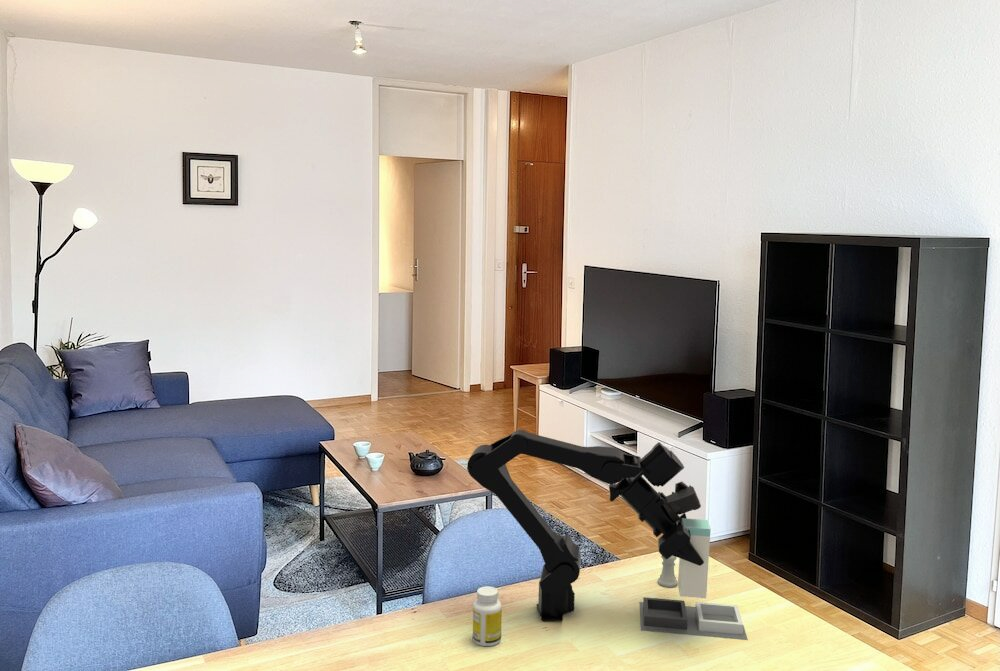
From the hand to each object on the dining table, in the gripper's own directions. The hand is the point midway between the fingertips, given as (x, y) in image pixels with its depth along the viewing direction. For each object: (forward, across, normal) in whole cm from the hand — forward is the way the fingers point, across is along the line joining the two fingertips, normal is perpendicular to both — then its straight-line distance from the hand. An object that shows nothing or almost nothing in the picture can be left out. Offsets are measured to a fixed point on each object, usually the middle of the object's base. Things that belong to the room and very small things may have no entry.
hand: (700, 558), depth 161 cm
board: (+9, 0, +11) cm, 14 cm away
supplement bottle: (-19, -13, +38) cm, 44 cm away
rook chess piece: (+6, +16, +13) cm, 22 cm away
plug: (+4, 0, +6) cm, 7 cm away
